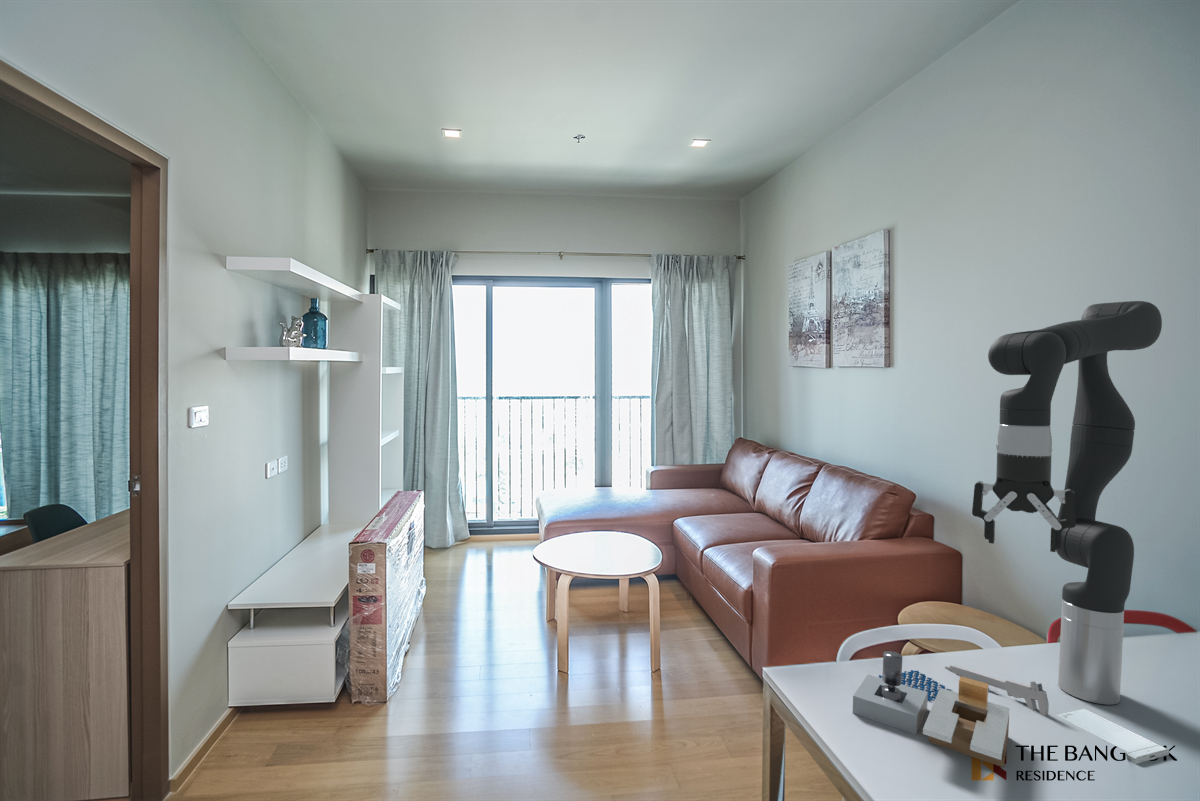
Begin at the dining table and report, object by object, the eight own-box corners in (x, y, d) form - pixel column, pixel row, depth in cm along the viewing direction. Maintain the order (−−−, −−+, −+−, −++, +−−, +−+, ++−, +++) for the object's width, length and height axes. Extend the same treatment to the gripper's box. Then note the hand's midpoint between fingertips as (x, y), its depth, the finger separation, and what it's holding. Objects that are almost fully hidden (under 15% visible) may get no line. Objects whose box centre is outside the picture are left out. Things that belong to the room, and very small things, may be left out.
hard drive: (1053, 715, 105) (1135, 756, 93) (1085, 708, 108) (1169, 747, 96) (1052, 724, 105) (1135, 767, 93) (1084, 717, 108) (1169, 757, 96)
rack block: (867, 695, 112) (867, 674, 112) (926, 714, 106) (927, 692, 106) (852, 718, 104) (853, 695, 104) (916, 740, 98) (916, 716, 98)
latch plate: (939, 692, 104) (940, 670, 104) (1009, 712, 98) (1010, 689, 98) (922, 733, 91) (923, 709, 91) (1001, 760, 85) (1002, 734, 85)
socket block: (938, 720, 104) (939, 692, 104) (1007, 742, 98) (1009, 712, 98) (928, 747, 96) (929, 717, 96) (1003, 773, 90) (1004, 741, 90)
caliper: (1048, 722, 105) (1049, 687, 105) (1043, 723, 105) (1045, 687, 105) (948, 668, 125) (949, 638, 124) (944, 669, 124) (945, 639, 124)
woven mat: (915, 677, 121) (915, 667, 121) (961, 704, 111) (961, 693, 111) (873, 683, 118) (873, 673, 118) (916, 712, 108) (917, 701, 108)
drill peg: (883, 704, 107) (885, 649, 107) (901, 710, 106) (904, 654, 105) (879, 711, 105) (881, 655, 105) (897, 717, 103) (900, 660, 103)
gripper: (1077, 452, 100) (1074, 549, 100) (976, 446, 108) (974, 535, 109) (1077, 457, 94) (1075, 559, 94) (971, 450, 102) (969, 544, 103)
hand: (1021, 546), depth 101 cm, fingers open, 8 cm apart
